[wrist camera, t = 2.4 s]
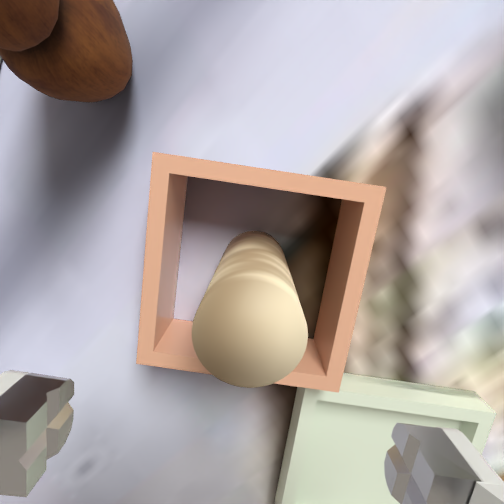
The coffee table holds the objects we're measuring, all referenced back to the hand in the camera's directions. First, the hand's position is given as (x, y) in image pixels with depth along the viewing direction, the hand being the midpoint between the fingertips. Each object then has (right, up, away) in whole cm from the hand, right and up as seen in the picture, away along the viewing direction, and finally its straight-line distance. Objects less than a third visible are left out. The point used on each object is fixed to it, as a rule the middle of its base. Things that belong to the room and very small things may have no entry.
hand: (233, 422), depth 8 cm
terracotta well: (+1, +4, +16) cm, 17 cm away
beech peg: (+1, +4, +16) cm, 17 cm away
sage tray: (+10, -13, +20) cm, 25 cm away
